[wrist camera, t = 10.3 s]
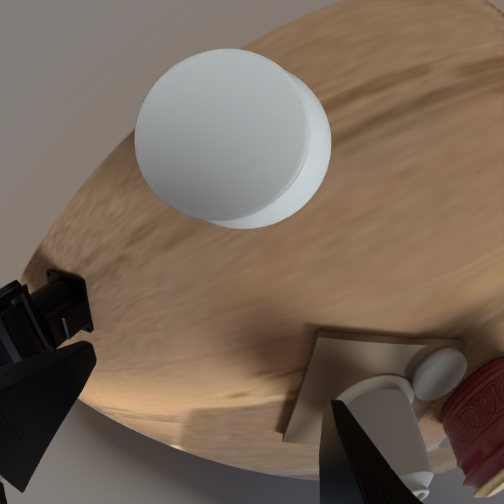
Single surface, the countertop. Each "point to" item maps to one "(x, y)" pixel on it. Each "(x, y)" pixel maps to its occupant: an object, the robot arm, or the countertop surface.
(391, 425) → the can
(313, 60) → the countertop surface
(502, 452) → the canister
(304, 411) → the board
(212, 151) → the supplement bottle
